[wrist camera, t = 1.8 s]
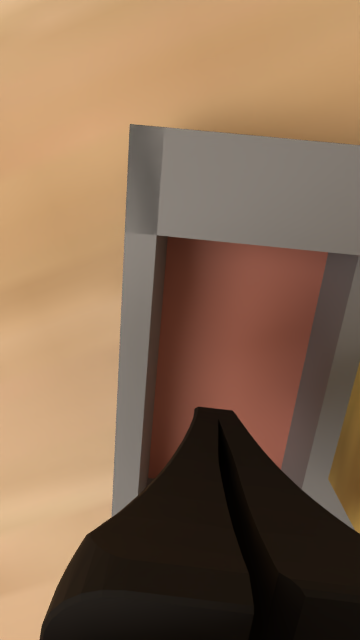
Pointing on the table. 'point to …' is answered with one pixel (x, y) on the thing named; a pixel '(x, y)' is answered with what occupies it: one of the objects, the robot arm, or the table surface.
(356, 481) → the block
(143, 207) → the trap track
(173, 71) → the table surface
